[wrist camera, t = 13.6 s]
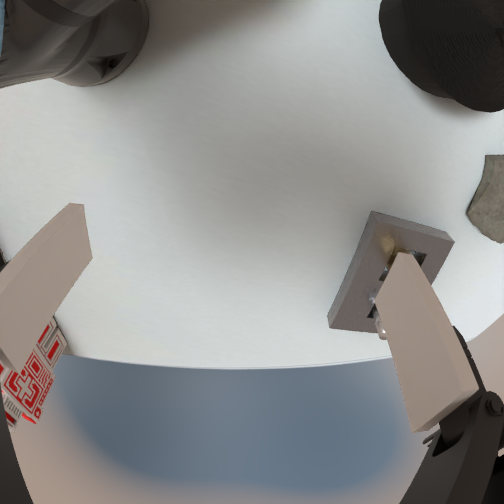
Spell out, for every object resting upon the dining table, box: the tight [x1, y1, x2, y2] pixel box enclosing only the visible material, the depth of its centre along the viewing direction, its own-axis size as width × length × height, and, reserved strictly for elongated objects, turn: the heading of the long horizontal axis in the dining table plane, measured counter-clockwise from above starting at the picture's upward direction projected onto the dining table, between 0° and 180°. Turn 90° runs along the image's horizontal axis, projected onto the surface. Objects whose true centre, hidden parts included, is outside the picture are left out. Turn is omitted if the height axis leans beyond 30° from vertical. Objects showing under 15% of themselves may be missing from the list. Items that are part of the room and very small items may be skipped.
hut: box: [379, 0, 504, 113], centre depth 17 cm, size 18×18×15 cm
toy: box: [0, 317, 67, 432], centre depth 45 cm, size 22×8×30 cm, turn 177°
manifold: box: [327, 211, 454, 340], centre depth 40 cm, size 20×14×8 cm
